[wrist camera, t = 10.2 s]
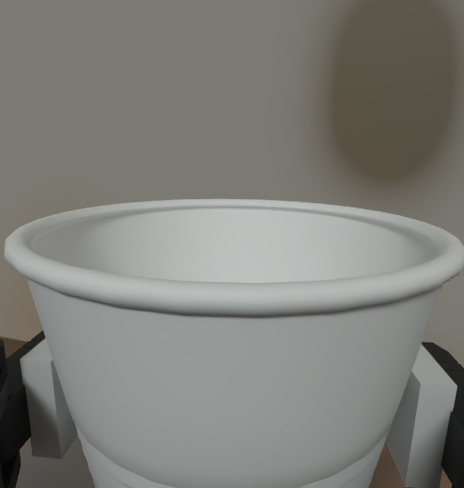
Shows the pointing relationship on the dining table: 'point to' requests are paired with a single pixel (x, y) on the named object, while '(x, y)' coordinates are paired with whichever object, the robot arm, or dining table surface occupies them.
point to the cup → (233, 335)
